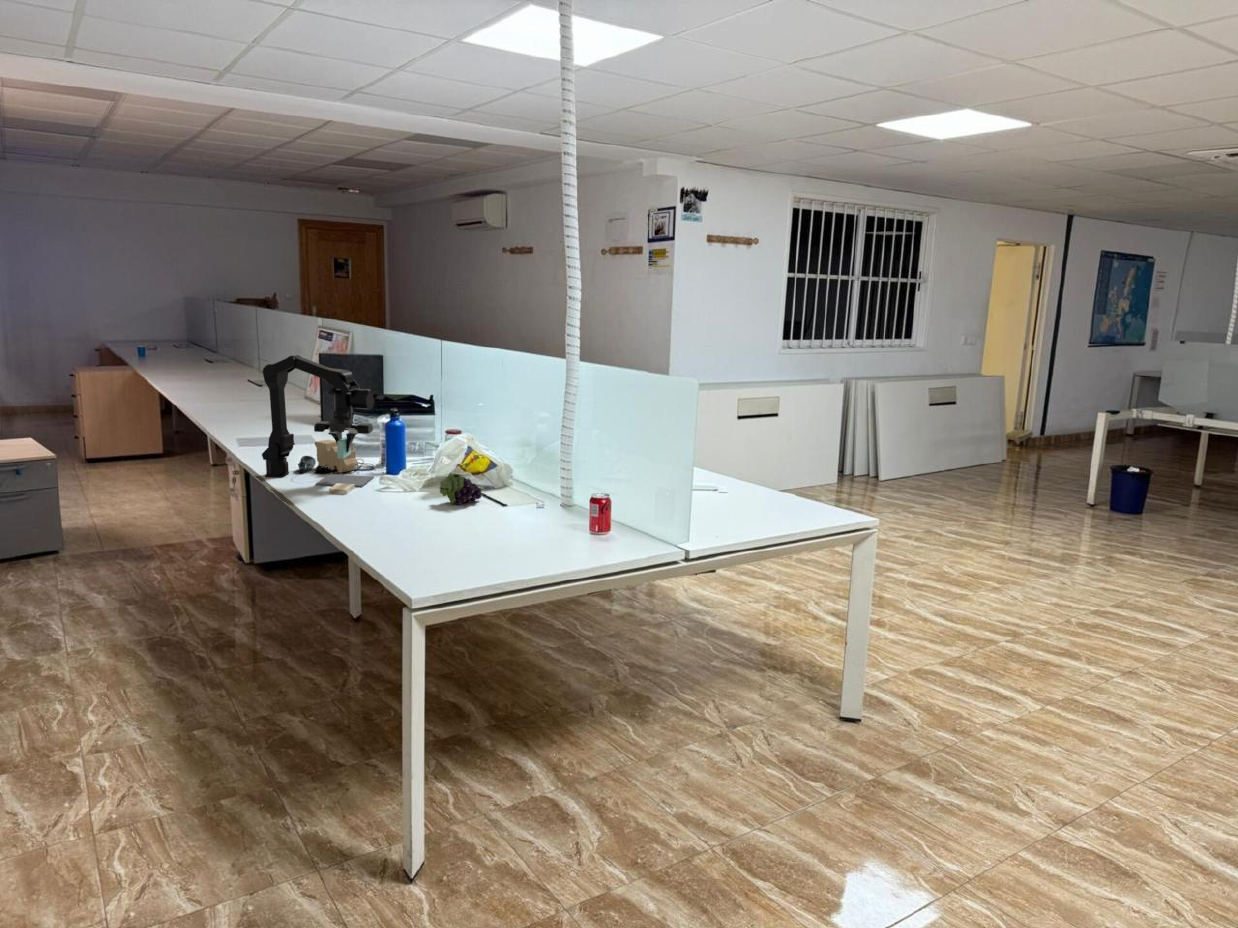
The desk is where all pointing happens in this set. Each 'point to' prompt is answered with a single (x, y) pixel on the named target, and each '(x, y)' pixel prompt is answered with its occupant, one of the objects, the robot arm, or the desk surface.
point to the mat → (345, 480)
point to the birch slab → (341, 488)
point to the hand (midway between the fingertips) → (344, 452)
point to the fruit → (459, 489)
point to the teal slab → (343, 448)
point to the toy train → (334, 456)
